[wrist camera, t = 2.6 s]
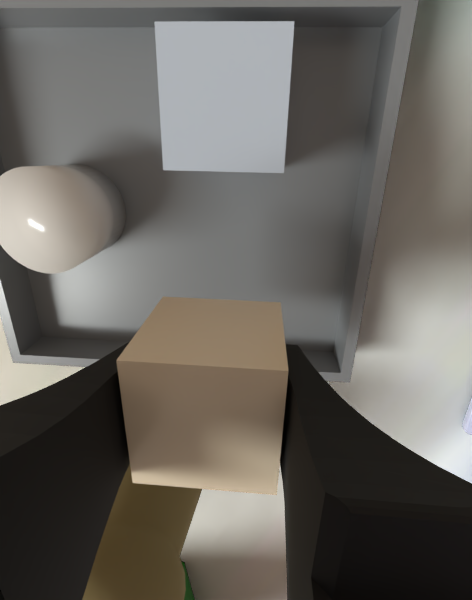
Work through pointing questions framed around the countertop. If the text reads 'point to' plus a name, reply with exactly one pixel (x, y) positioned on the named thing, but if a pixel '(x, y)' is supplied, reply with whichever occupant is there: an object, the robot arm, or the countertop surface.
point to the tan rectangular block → (206, 395)
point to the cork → (143, 544)
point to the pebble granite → (58, 215)
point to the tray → (202, 173)
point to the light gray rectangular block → (224, 94)
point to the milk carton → (187, 586)
